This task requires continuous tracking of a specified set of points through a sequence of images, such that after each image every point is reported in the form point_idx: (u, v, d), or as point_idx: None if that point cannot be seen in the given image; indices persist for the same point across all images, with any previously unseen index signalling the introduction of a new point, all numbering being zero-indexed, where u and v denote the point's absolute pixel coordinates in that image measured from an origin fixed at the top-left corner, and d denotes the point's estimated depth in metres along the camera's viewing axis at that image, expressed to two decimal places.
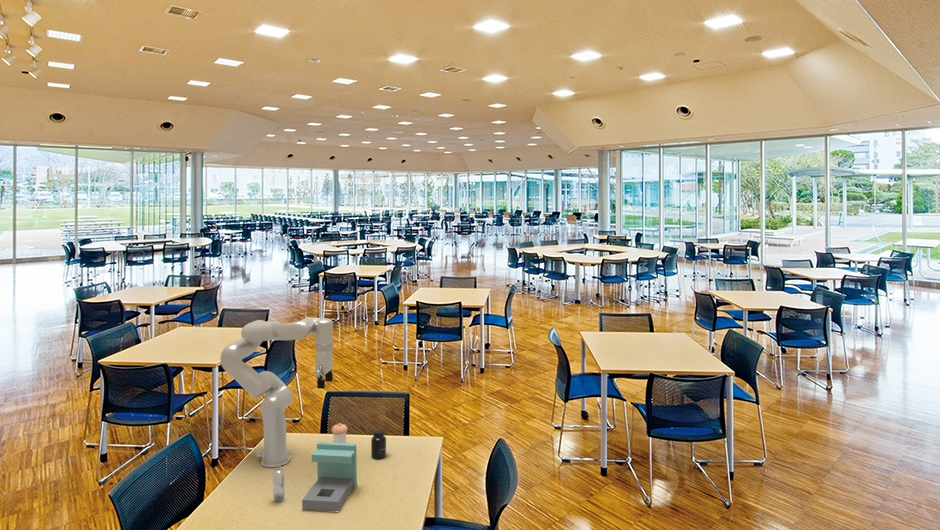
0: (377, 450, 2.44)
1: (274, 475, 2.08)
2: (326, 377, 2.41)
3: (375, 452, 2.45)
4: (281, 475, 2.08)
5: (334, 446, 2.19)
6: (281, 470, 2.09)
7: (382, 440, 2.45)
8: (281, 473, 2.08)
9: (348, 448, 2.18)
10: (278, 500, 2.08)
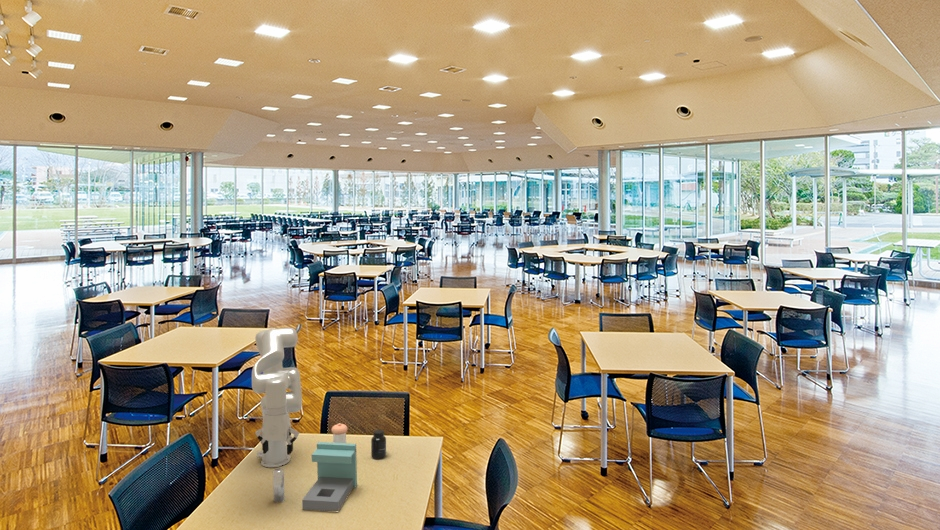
0: (377, 450, 2.44)
1: (274, 475, 2.08)
2: (265, 448, 2.07)
3: (375, 452, 2.45)
4: (281, 475, 2.08)
5: (334, 446, 2.19)
6: (281, 470, 2.09)
7: (382, 440, 2.45)
8: (281, 473, 2.08)
9: (348, 448, 2.18)
10: (278, 500, 2.08)
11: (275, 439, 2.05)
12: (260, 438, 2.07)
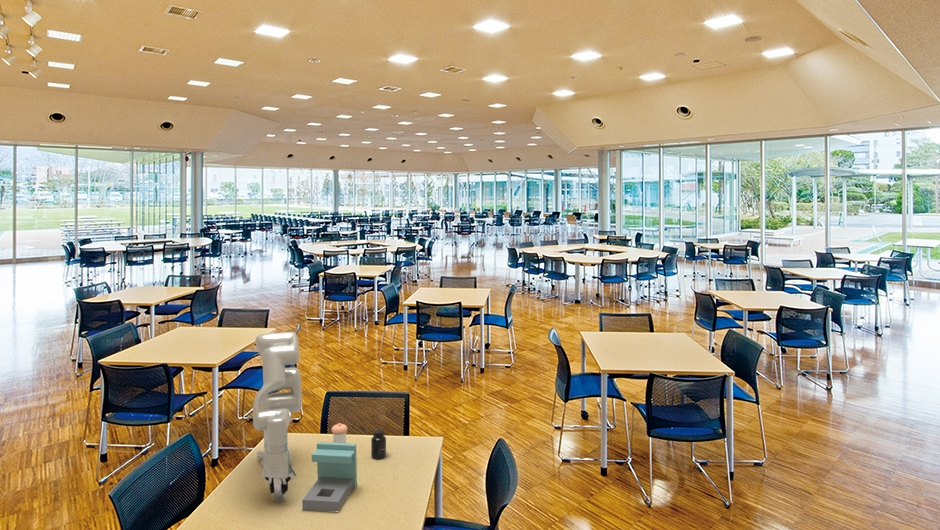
0: (377, 450, 2.44)
1: None
2: None
3: (375, 452, 2.45)
4: None
5: (334, 446, 2.19)
6: None
7: (382, 440, 2.45)
8: None
9: (348, 448, 2.18)
10: (278, 500, 2.08)
11: (276, 477, 2.06)
12: (268, 478, 2.09)
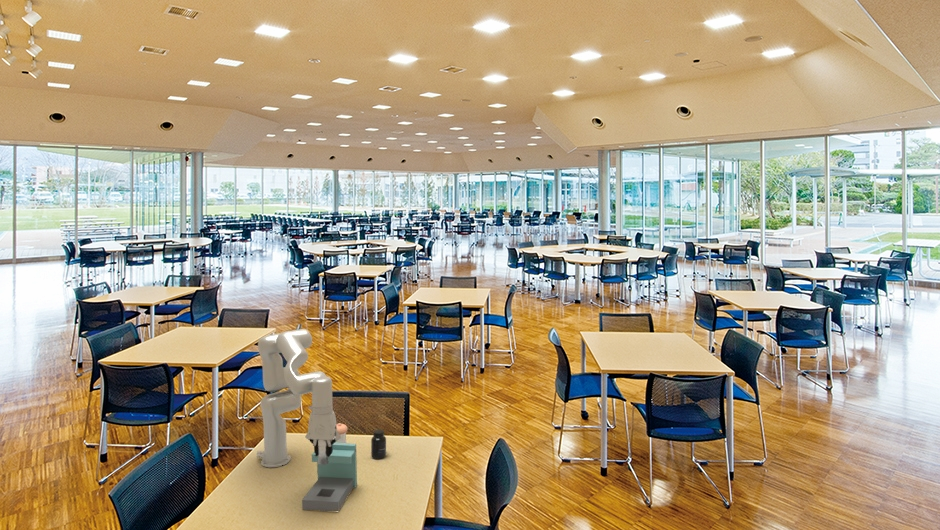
0: (377, 450, 2.44)
1: None
2: (317, 451, 2.06)
3: (375, 452, 2.45)
4: None
5: (334, 446, 2.19)
6: None
7: (382, 440, 2.45)
8: None
9: (348, 448, 2.18)
10: (323, 463, 2.05)
11: (321, 438, 2.03)
12: (312, 440, 2.06)
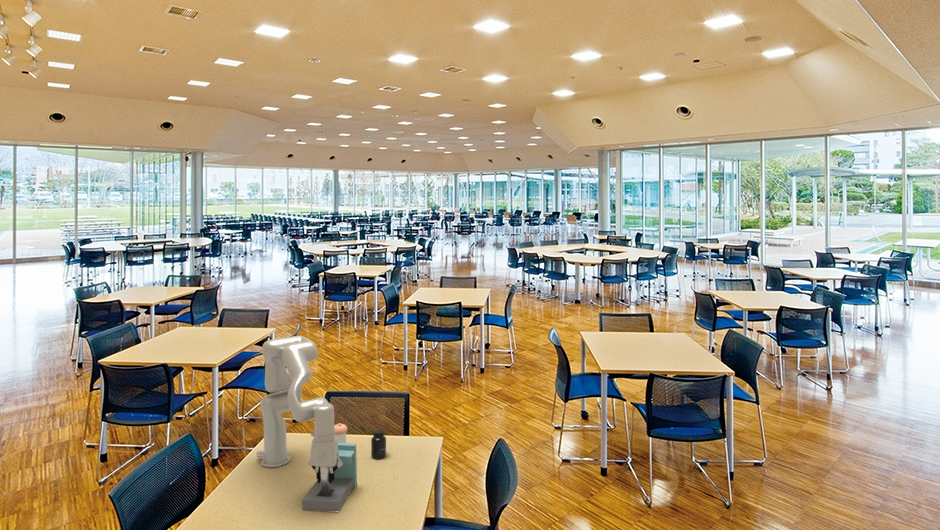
0: (377, 450, 2.44)
1: None
2: (319, 477, 2.07)
3: (375, 452, 2.45)
4: None
5: None
6: None
7: (382, 440, 2.45)
8: None
9: (348, 448, 2.18)
10: (325, 489, 2.06)
11: (324, 465, 2.04)
12: (314, 467, 2.07)
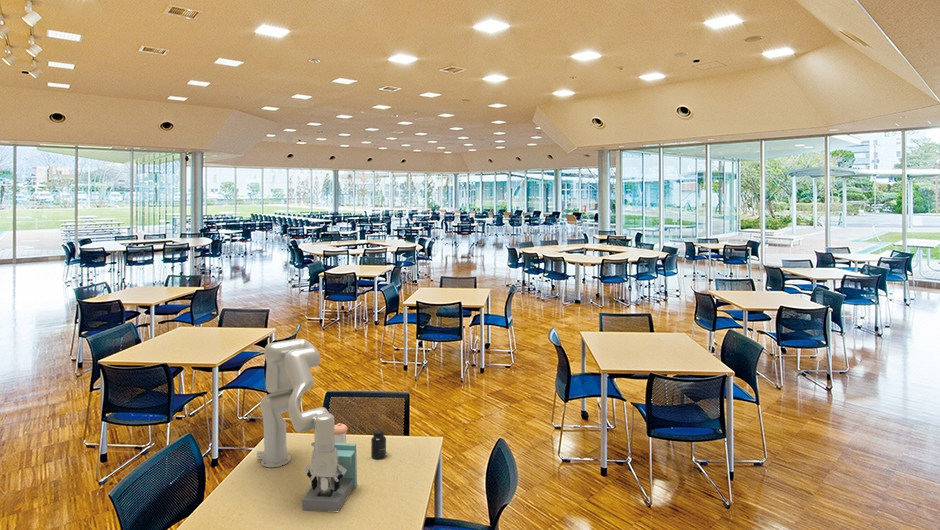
0: (377, 450, 2.44)
1: (321, 478, 2.06)
2: (314, 485, 2.07)
3: (375, 452, 2.45)
4: (328, 478, 2.06)
5: None
6: None
7: (382, 440, 2.45)
8: None
9: (348, 448, 2.18)
10: None
11: (324, 475, 2.05)
12: (309, 475, 2.07)
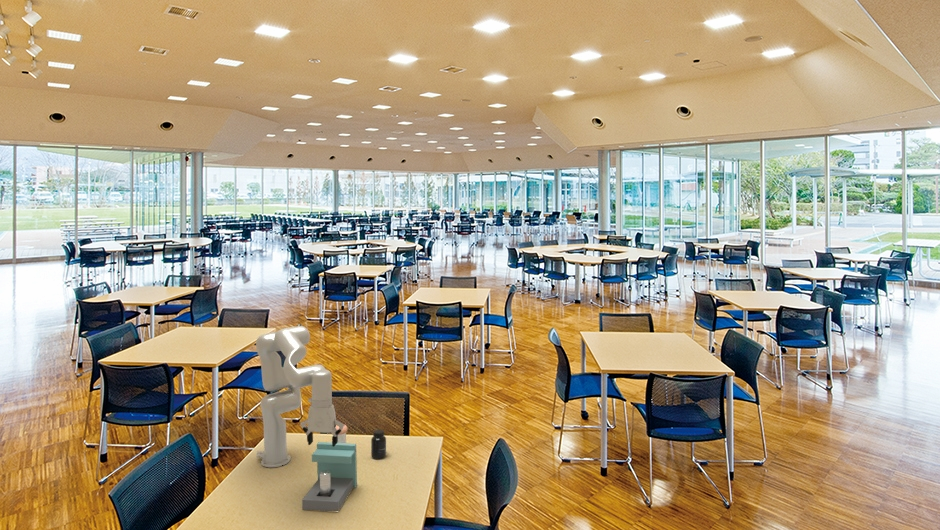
0: (377, 450, 2.44)
1: (321, 478, 2.06)
2: (310, 440, 2.08)
3: (375, 452, 2.45)
4: (328, 478, 2.06)
5: (334, 446, 2.19)
6: (328, 472, 2.08)
7: (382, 440, 2.45)
8: (328, 476, 2.06)
9: (348, 448, 2.18)
10: None
11: (321, 431, 2.05)
12: (305, 429, 2.08)
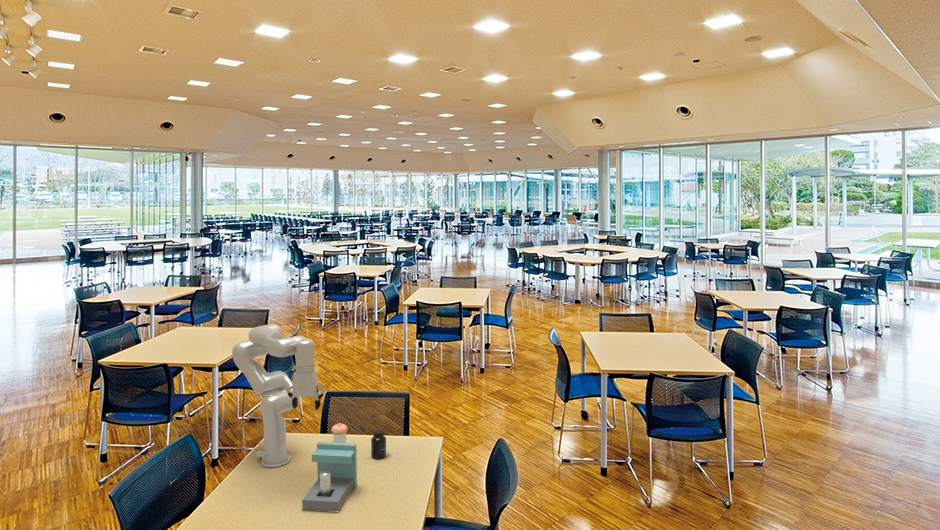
0: (377, 450, 2.44)
1: (321, 478, 2.06)
2: (295, 404, 2.25)
3: (375, 452, 2.45)
4: (328, 478, 2.06)
5: (334, 446, 2.19)
6: (328, 472, 2.08)
7: (382, 440, 2.45)
8: (328, 475, 2.06)
9: (348, 448, 2.18)
10: None
11: (304, 395, 2.22)
12: (290, 394, 2.25)
